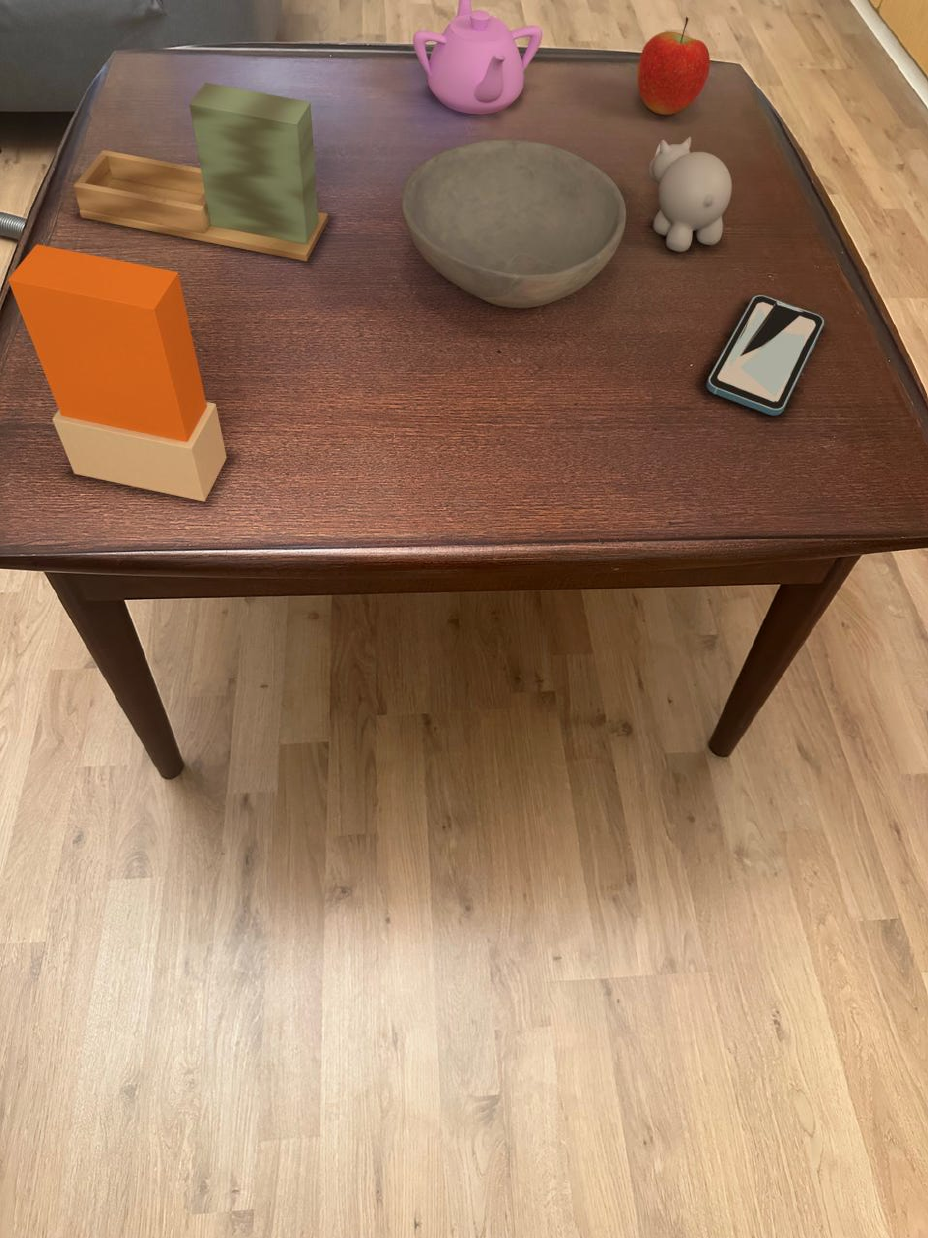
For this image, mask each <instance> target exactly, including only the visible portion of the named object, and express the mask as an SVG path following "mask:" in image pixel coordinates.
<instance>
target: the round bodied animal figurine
mask: <svg viewBox="0 0 928 1238" xmlns="http://www.w3.org/2000/svg"><path fill="white" fill-rule="evenodd" d="M691 145H692V136H689V137H687V138H686V139H685V140H684V141H683V142H682V143H680V144H678V143H671V144H668V142H667V141H666V140H664V139H661V141H660V143H659V144H658V146H657V147H656V150H655V154H654V157H653V158H652V159H651V160H650V161H649V164H648V166H647V173H648V176H649V178H650V180H651V181H652V182H654V183H656V184H657V185H658V186H659V187H658V202H659V203H658V204H659V207H660V209H659V210H658V212H657V213H656V215H655V217H654V219H653V223H652V228H653V231H654V232H655V233H657V234H659V235H661V236H664V237H666V239H665V246H666V247H667V248H668V249H669V250H671V251H674V252H677V253H684V252H686V251H688V250H689V249H690V247H691V245H692V241H693V232H696V233H695V234H696V239H697V241H698V242H699V243H700V244H701V245H706V246H714V245H716V244H719V242H720V240H721V238H722V235H723V231H724V223H723V222H724V221H723V214H724V213H725V211H726V209H727V207H728V205H729V203H730V201H731V197H732V190H733V185H732V177H731V175H730V171H729V169H728V168H727V166H726V165H725V163H724V162H723V161H722V160H721V159H720V158H719V157H717V156H716V155H714V154H712V153H710V152H705V151H692V152H691V151H690V150H691Z"/></svg>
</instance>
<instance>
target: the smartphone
mask: <svg viewBox="0 0 928 1238" xmlns="http://www.w3.org/2000/svg"><path fill="white" fill-rule="evenodd" d="M824 325H825V319H824V318H823V317H822V315H820V314H819V313H815V312H813V311H810V310H807V309H804V308H801V307H799V306H795V305H793V304H790V303H787V302H784V301H781V300H778V299H775V298H773V297H770V296H767V295H764V294H757V295H754V296H753V297H752V298H751V300H750V302H749V304H748V305H747V307H746V308H745V311H744V313H743V314H742V316H741V317H740V319H739V321H738V323H737V325H736V327H735V329H734V331H733V332H732V334H731V335H730V338H729V339H728V342H727V343H726V345H725V347H724V349H723V350H722V352H721V354H720V356H719V358H718V360H717V362H716V363H715V365H714V367H713V368H712V371H711V372H710V374H709V376H708V378H707V380H706V384H705V385H706V386H705V387H706V389H707V390H708V391H709V392H710V393H712V394H714V395H717V396H719V397H722V398H725V399H726V400H730V401H732V402H734V403H738V404H740V405H743V406H745V407H748V408H750V409H753V410H755V411H758V412H760V413H764V414H765V415H769V416H779V415H781V414H782V413H783V412H784V409H785V408H786V406H787V403H788V402H789V399H790V397H791V395H792V394H793V391H794V389H795V387H796V385H797V382H798V380H799V378H800V376H801V374H802V372H803V370H804V368H805V366H806V363H807V361H808V360H809V357H810V355H812V352H813V350H814V349H815V346H816V342H817V340H818V339H819V336H820V334H821V332H822V330H823V328H824Z"/></svg>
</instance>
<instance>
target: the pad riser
mask: <svg viewBox="0 0 928 1238" xmlns="http://www.w3.org/2000/svg"><path fill="white" fill-rule="evenodd" d="M206 404H207V407H206V409H205V411H204V413H203V415H202V416H201V418H200V420H199V422H198V424H197V426H196V427H195V429H194V431H193V433H192V435H191V437H190V438H189V440H188V442H184V441H179V440H175V439H170V438H165V437H160V436H156V435H151V434H146V433H141V432H137V431H132V430H127V429H122V428H118V427H113V426H108V425H103V424H99V423H94V422H89V421H85V420H80V419H75V418H70V417H66V416H62V415H61V413H60V411H59V409H57V412H56V413H55V414H54V416H53V418H52V422H53V425H54V427H55V429H56V433H57V435H58V437H59V439H60V442H61V444H62V447H63V449H64V452H65V454H66V456H67V459H68V461H69V464H70V467H71V470H72V472H73V474H74V475H79V476H83V477H86V478H87V477H88V478H93V479H97V480H101V481H106V482H110V483H117V484H121V485H125V486H130V487H135V488H138V489H139V488H140V489H143V490H149V491H152V492H158V493H163V494H167V495H171V496H177V497H181V498H186V499H191V500H195V501H199V502H205V501H206V500H207V498H208V495H209V494H210V492H211V490H212V488H213V486H214V484H215V482H216V480H217V478H218V477H219V474H220V472H221V470H222V468H223V466H224V464H225V463H226V460H227V452H226V448H225V443H224V438H223V432H222V429H221V423H220V418H219V414H218V408H217V404H216V403H214V402H211V401H209V402H208V401H206Z"/></svg>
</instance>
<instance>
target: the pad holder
mask: <svg viewBox="0 0 928 1238" xmlns="http://www.w3.org/2000/svg"><path fill="white" fill-rule="evenodd" d="M311 104H312V103H311V101H309V100H303V99H298V98H292V97H287V96H282V95H275V94H270V93H266V92H265V93H264V92H260V91H259V92H258V91H253V90H248V89H242V88H237V87H232V86H228V85H227V86H226V85H221V84H215V83H210V82H204V84H203V85H202V87H201V88H200V89H199V91H198V92H197V93H196V94H195V96H194V97H193V98H192V100H191V101H190V103H189V111H190V115H191V122H192V129H193V133H194V139H195V145H196V151H197V156H198V161H199V167H196V166H191V165H185V164H180V163H175V162H169V161H165V160H159V159H154V158H148V157H144V156H143V157H142V156H137V155H132V154H129V153H128V154H126V153H122V152H116V151H112V150H106V149H102V150H101V152H100V153H99V154H98V155H97V156H96V158H95V159H94V160H93V162H91V164H90V165H89V166H88V167H87V168H86V170H85V171H84V172H83V173H82V174H81V176H80V177H79V178H78V179H77V180H76V181H75V183H74V184H73V185H72V187H73V191H74V194H75V197H76V201H77V204H78V207H79V215H80V218H82V219H87V220H92V221H97V222H103V223H108V224H112V225H118V226H122V227H127V228H133V229H138V230H143V231H149V232H153V233H157V234H163V235H168V236H175V237H179V238H184V239H189V240H194V241H199V242H204V243H210V244H216V245H220V246H226V247H230V248H236V249H242V250H246V251H251V252H256V253H261V254H267V255H272V256H276V257H282V258H286V259H292V260H297V261H301V262H307V261H308V260H309V258H310V256H311V255H312V252H313V250H314V248H315V246H316V245H317V243H318V241H319V239H320V237H321V235H322V234H323V232H324V229H325V228H326V226H327V224H328V222H329V214H328V213H326V212H320V211H319V202H318V191H317V190H318V187H317V175H316V162H315V161H316V160H315V147H314V146H315V145H314V134H313V132H314V131H313V119H312V118H313V117H312V116H313V115H312V105H311Z"/></svg>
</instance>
